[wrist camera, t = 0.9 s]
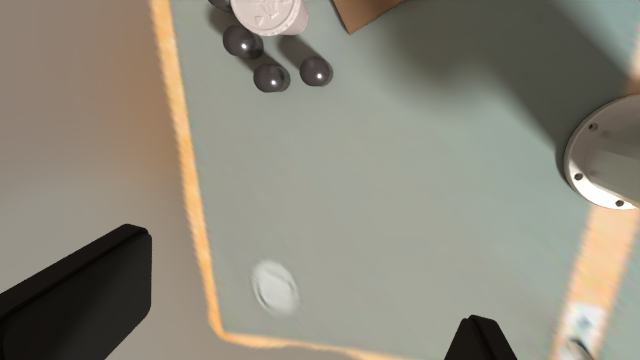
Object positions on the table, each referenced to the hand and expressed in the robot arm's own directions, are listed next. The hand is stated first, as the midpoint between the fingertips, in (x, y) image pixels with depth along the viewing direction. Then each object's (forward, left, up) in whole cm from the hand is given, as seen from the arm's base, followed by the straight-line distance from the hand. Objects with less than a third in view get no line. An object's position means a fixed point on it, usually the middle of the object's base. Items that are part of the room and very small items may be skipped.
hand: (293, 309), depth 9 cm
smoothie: (0, -16, -31) cm, 35 cm away
